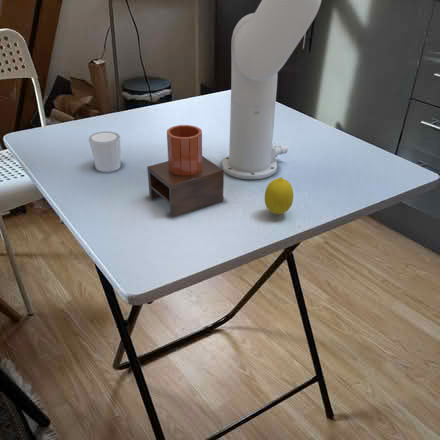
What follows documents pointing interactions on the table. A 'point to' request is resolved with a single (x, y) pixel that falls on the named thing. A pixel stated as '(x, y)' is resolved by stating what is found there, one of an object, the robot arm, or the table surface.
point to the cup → (184, 150)
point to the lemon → (279, 196)
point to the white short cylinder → (105, 150)
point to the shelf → (186, 187)
